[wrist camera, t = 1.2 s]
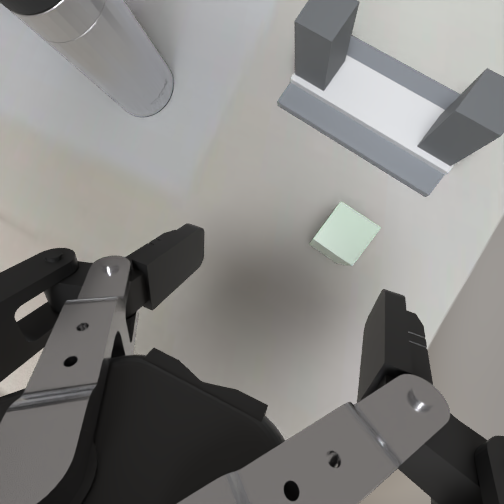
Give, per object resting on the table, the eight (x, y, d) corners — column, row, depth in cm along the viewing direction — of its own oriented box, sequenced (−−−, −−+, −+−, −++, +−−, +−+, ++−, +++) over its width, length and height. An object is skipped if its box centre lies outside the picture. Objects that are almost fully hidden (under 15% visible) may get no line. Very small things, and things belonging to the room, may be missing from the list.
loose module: (308, 244, 36) (313, 238, 26) (329, 215, 36) (342, 199, 26) (337, 263, 35) (352, 265, 26) (358, 235, 35) (382, 225, 25)
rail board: (277, 105, 37) (271, 51, 28) (329, 29, 36) (341, -53, 27) (425, 196, 34) (476, 172, 24) (486, 116, 33) (565, 57, 23)
